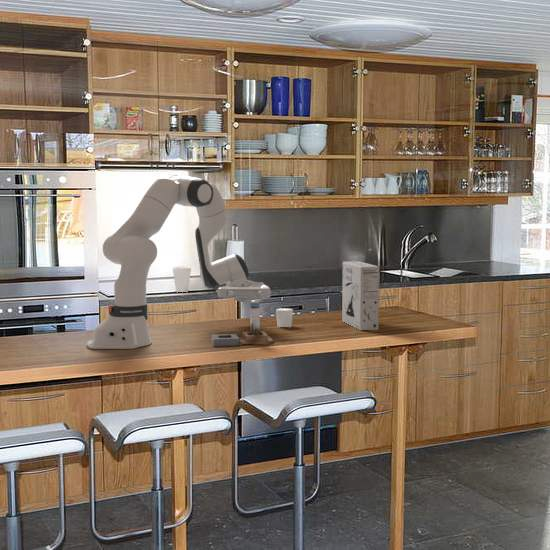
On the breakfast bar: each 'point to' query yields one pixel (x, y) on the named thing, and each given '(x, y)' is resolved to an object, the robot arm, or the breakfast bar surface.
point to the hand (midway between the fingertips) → (246, 294)
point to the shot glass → (284, 317)
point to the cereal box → (360, 295)
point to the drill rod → (254, 317)
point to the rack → (255, 338)
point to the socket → (225, 340)
